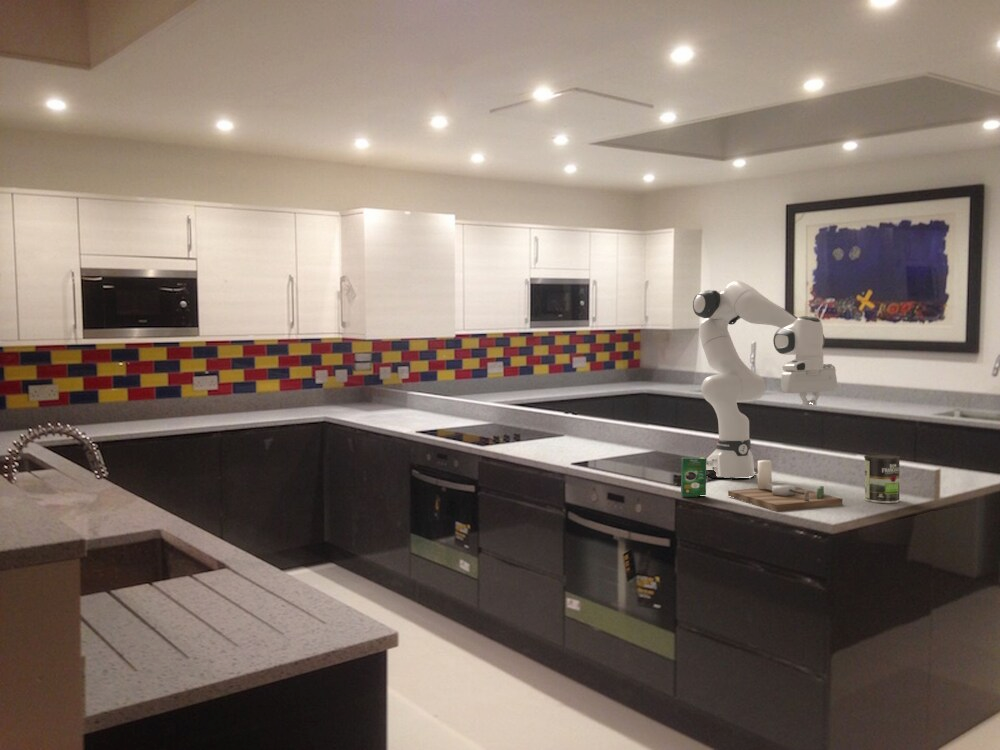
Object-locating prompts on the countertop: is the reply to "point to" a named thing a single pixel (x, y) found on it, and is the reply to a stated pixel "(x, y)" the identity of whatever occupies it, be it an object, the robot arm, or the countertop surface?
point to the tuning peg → (766, 481)
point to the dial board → (786, 499)
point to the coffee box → (693, 477)
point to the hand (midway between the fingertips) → (809, 405)
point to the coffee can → (882, 478)
